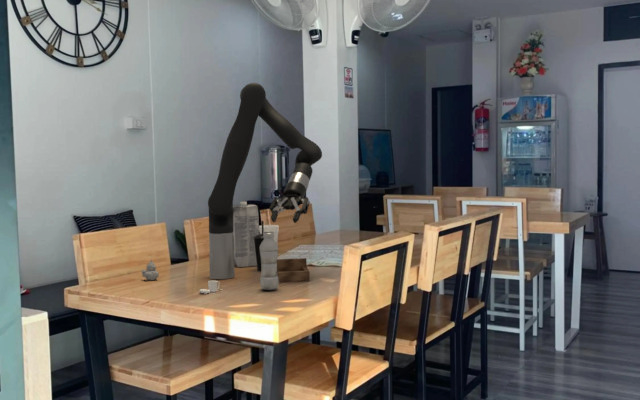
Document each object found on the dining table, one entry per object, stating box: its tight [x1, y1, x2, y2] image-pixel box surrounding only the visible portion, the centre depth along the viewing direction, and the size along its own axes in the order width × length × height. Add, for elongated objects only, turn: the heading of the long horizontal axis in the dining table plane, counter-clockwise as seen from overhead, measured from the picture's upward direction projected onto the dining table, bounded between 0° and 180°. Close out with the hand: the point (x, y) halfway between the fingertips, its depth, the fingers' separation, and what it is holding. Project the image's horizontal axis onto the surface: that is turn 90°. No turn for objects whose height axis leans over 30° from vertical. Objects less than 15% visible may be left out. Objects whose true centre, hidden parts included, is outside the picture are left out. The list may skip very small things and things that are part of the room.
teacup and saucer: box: [198, 279, 222, 295], centre depth 218 cm, size 9×8×4 cm
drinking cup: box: [253, 220, 265, 272], centre depth 257 cm, size 8×8×20 cm
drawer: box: [277, 257, 310, 283], centre depth 239 cm, size 14×12×7 cm
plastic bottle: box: [259, 232, 280, 291], centre depth 219 cm, size 6×7×20 cm
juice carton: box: [233, 201, 260, 268], centre depth 269 cm, size 9×10×27 cm
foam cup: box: [259, 224, 280, 244], centre depth 304 cm, size 10×9×13 cm
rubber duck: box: [140, 259, 160, 281], centre depth 241 cm, size 5×7×8 cm
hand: (283, 221), depth 229 cm, fingers open, 8 cm apart
